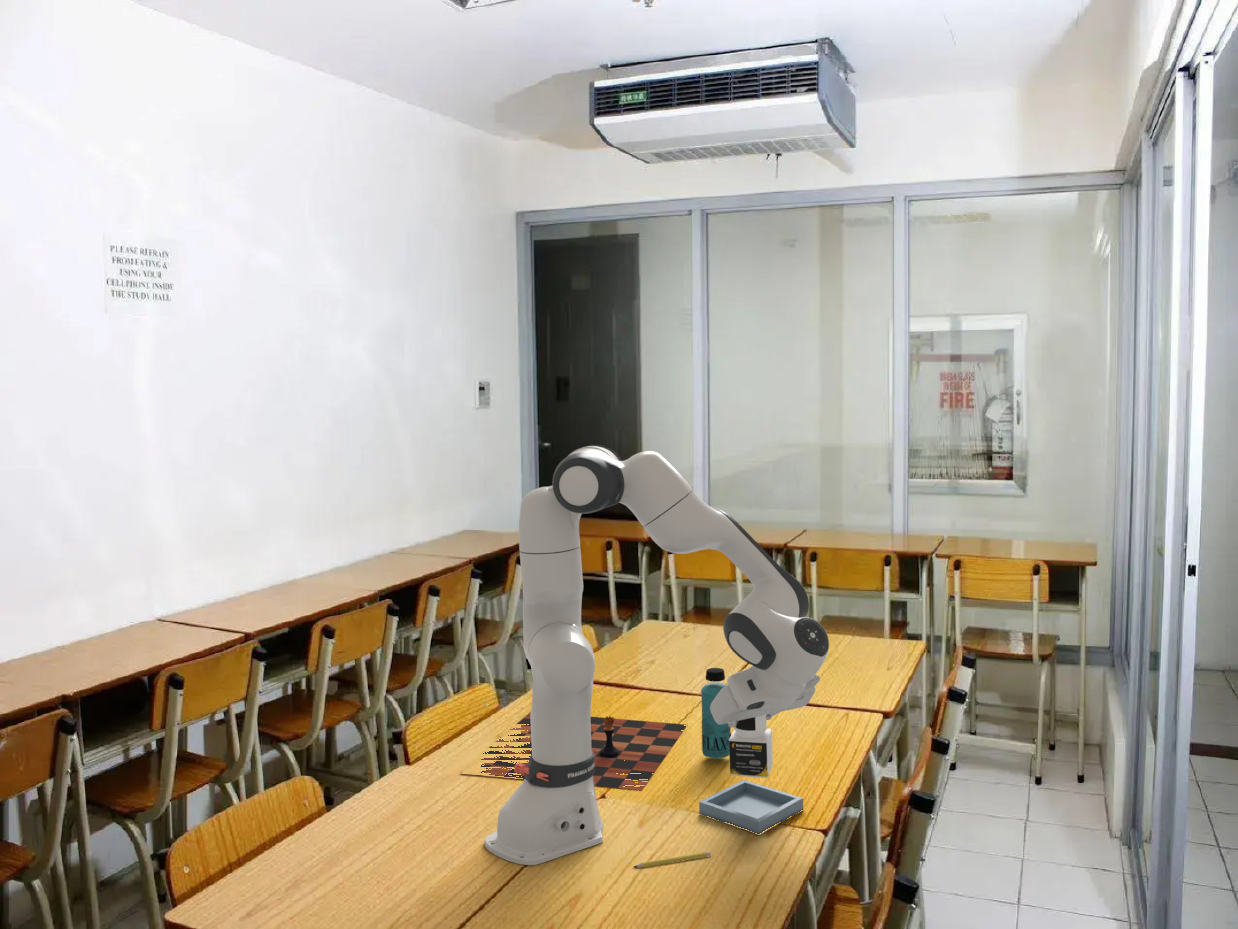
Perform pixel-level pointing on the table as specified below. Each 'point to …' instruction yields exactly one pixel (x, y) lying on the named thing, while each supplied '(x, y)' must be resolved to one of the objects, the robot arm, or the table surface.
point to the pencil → (672, 860)
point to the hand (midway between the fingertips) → (748, 720)
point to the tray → (751, 806)
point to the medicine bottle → (751, 748)
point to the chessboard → (609, 750)
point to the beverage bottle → (713, 733)
